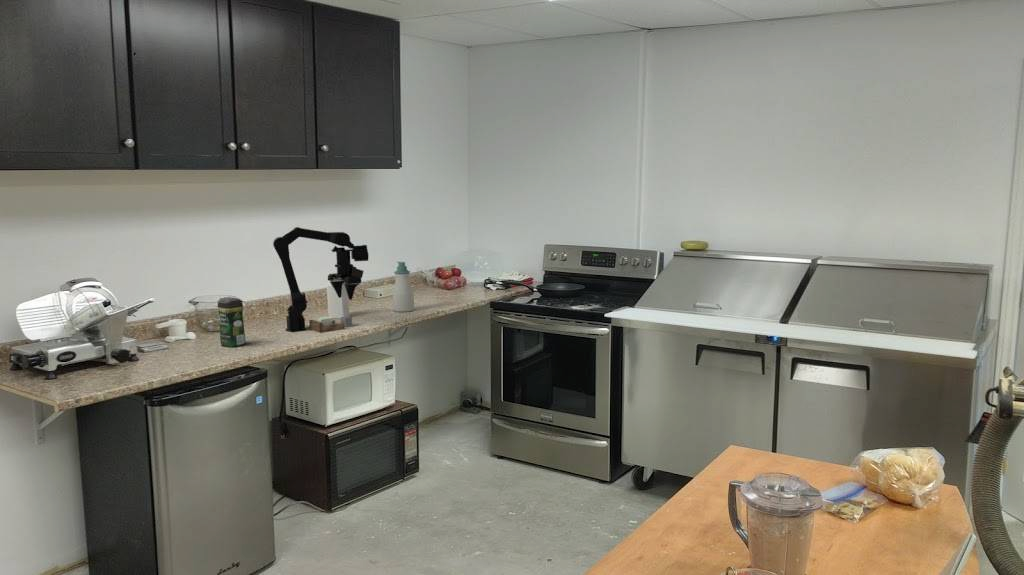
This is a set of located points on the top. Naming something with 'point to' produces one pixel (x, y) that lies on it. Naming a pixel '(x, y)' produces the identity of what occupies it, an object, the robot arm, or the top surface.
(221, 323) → the coffee jar
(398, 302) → the soap bottle
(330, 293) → the milk carton
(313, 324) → the walnut lane
